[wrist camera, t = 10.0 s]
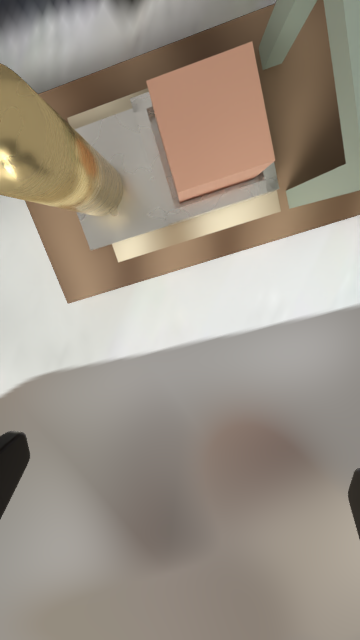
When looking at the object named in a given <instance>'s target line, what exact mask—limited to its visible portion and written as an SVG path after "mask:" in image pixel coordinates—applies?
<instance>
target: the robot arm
mask: <svg viewBox="0 0 360 640" xmlns="http://www.w3.org/2000/svg"><path fill="white" fill-rule="evenodd" d="M29 459H30V452H29V447H28V443H27V438H26V435H25V434H24V433H23V432H15V431H10V432H7V433H5V434H3V435H2V436H0V519H1V517H2V515H3V513H4V511H5V509H6V507H7V505H8V503H9V501H10V499H11V497H12V495H13V493H14V491H15V489H16V487H17V485H18V483H19V481H20V478H21V477H22V474H23V472H24V470H25V468H26V466H27V464H28V462H29ZM348 498H349V503H350V506H351V510H352V514H353V517H354V521H355V524H356V528H357V531H358V535H359V539H360V468H358V469H356V470H355V472H354V475H353V478H352V481H351V484H350V487H349V491H348Z"/></svg>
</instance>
